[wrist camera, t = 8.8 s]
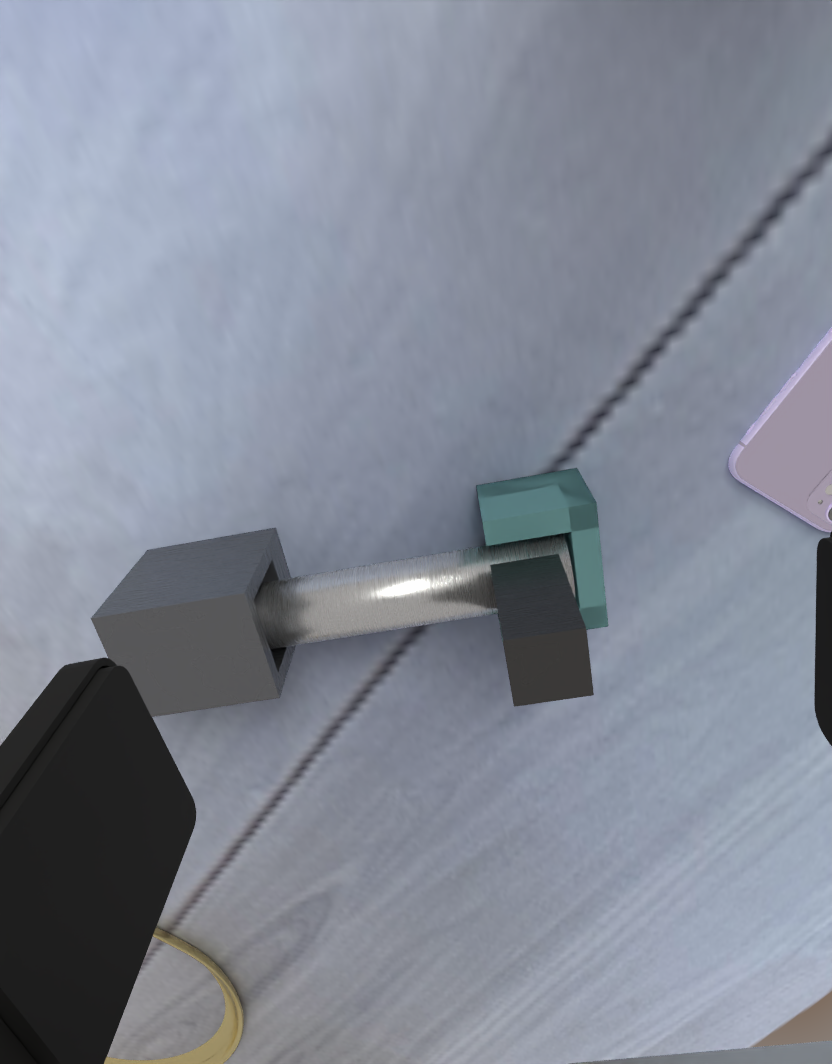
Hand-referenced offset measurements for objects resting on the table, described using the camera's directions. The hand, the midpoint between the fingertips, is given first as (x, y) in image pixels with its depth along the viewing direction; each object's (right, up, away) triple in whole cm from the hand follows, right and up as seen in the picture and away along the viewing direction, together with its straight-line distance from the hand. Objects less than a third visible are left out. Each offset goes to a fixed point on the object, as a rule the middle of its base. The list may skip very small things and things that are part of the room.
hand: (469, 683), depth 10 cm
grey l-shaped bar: (-3, 0, +25) cm, 25 cm away
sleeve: (-11, -1, +28) cm, 30 cm away
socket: (+5, +2, +27) cm, 27 cm away
